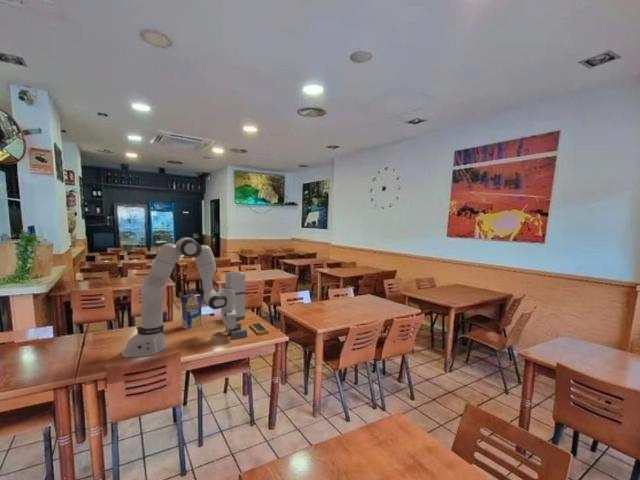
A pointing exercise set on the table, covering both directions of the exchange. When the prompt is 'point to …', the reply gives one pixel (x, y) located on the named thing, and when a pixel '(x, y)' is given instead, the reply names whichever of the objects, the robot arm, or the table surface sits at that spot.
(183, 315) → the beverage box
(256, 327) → the tray
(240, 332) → the grey parallel walls
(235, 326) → the walnut block
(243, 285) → the grey toy tower
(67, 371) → the table surface
